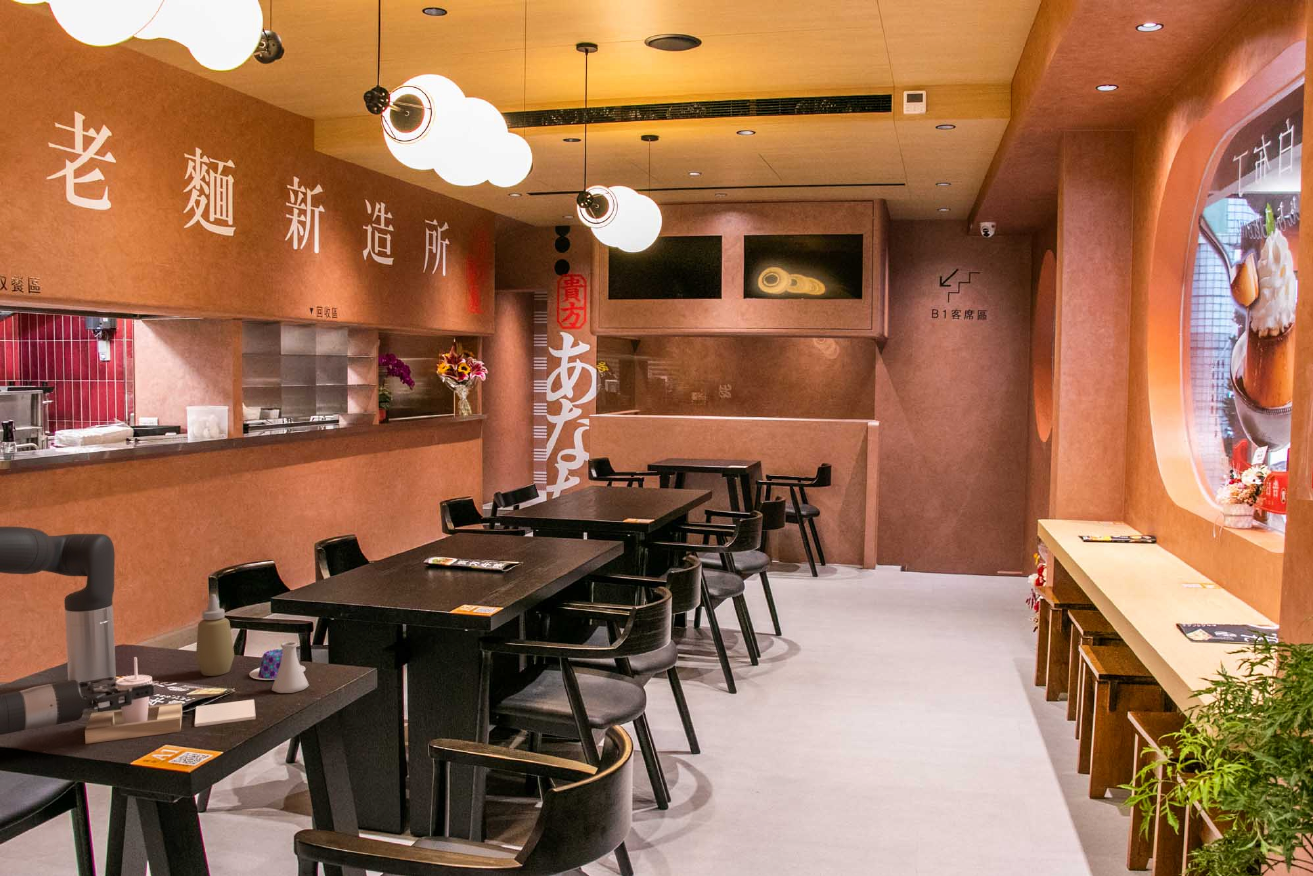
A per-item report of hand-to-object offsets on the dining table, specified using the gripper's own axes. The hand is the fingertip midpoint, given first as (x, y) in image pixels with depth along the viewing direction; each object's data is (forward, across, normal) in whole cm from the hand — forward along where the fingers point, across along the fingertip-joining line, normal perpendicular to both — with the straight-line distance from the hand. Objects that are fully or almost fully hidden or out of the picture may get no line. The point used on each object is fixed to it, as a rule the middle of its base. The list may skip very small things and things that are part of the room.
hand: (147, 685), depth 201 cm
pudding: (+32, +16, +9) cm, 37 cm away
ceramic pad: (+13, -4, +8) cm, 16 cm away
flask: (+30, +3, +8) cm, 31 cm away
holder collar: (-2, 0, +8) cm, 8 cm away
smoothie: (-2, 0, +8) cm, 9 cm away
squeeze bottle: (+22, +26, +8) cm, 35 cm away
